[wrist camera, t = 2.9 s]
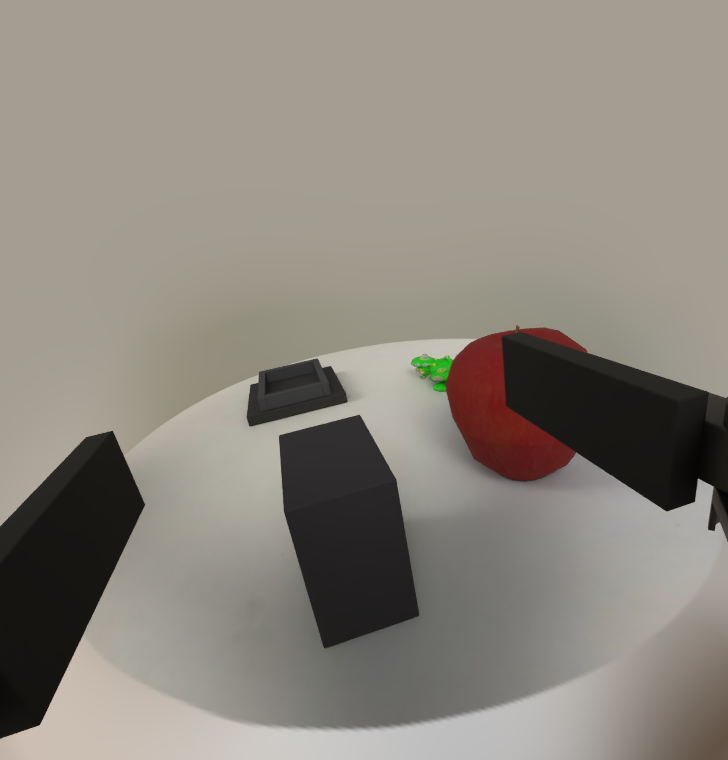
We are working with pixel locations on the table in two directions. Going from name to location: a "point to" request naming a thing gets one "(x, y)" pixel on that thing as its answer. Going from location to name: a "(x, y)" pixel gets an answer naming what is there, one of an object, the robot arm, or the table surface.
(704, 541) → the table surface
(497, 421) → the apple
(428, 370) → the crocodile figurine
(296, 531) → the pad block
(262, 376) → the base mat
